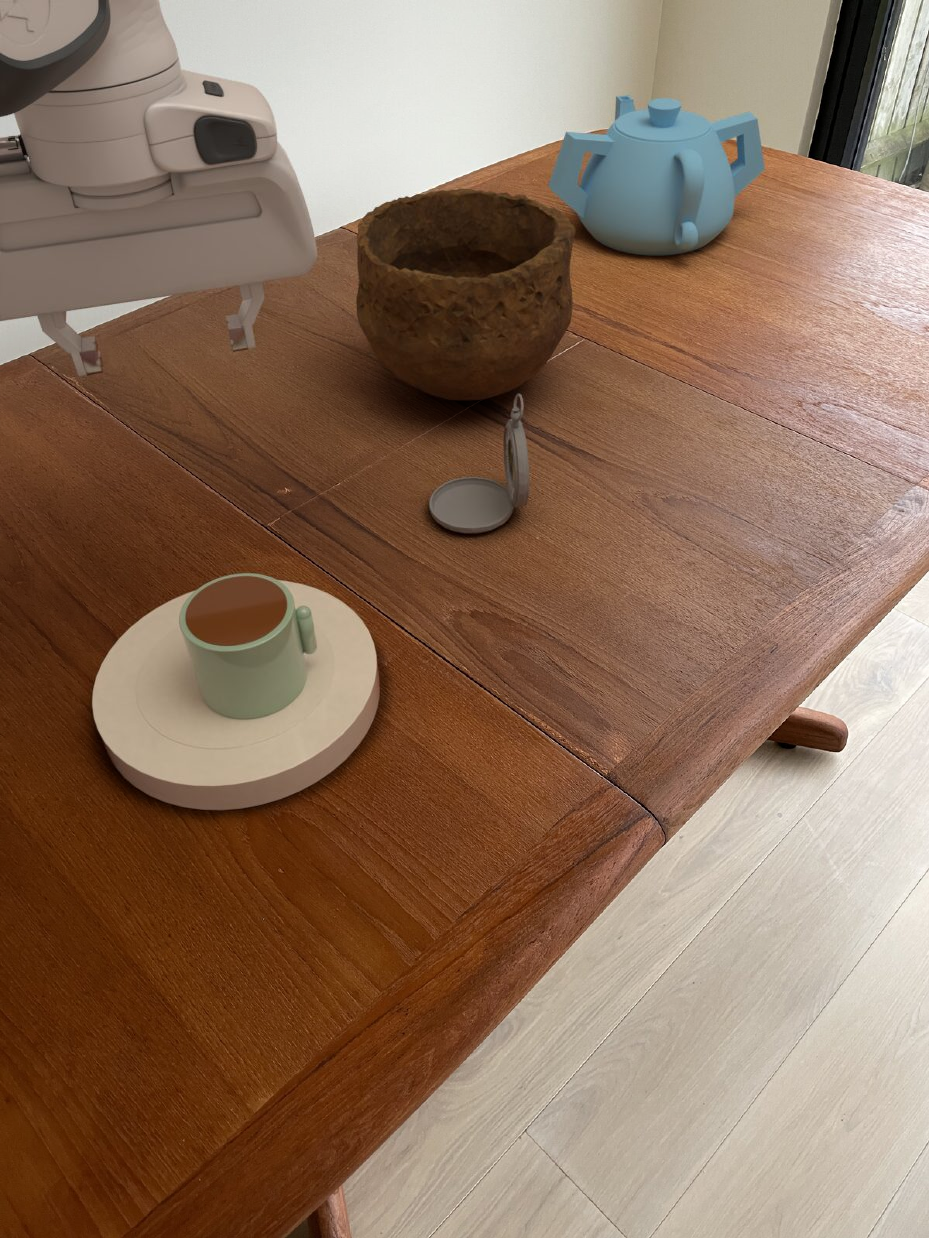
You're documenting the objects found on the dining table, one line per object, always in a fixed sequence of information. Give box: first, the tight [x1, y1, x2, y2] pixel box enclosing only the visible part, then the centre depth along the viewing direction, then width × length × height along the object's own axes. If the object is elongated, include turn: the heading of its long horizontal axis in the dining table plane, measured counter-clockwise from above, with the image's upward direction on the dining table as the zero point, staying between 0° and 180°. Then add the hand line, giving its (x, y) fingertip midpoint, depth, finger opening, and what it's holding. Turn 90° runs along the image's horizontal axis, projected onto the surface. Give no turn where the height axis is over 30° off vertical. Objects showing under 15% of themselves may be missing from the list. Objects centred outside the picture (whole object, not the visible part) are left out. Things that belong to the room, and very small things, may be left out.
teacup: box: [179, 572, 317, 719], centre depth 62 cm, size 8×7×6 cm
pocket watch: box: [428, 393, 531, 534], centre depth 77 cm, size 8×8×10 cm
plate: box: [91, 579, 381, 811], centre depth 66 cm, size 18×18×2 cm
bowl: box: [356, 188, 577, 401], centre depth 89 cm, size 19×19×15 cm
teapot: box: [547, 94, 766, 257], centre depth 113 cm, size 19×19×14 cm
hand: (168, 358), depth 64 cm, fingers open, 8 cm apart
